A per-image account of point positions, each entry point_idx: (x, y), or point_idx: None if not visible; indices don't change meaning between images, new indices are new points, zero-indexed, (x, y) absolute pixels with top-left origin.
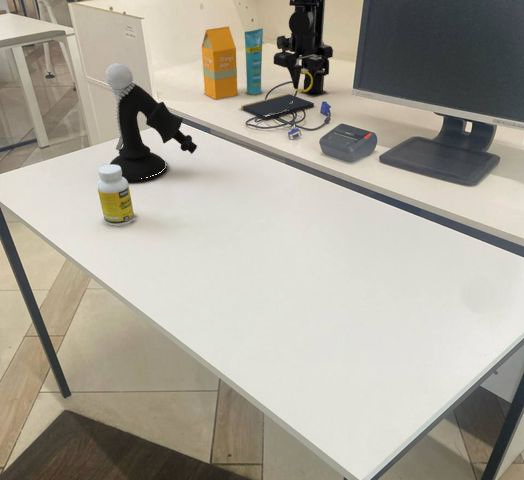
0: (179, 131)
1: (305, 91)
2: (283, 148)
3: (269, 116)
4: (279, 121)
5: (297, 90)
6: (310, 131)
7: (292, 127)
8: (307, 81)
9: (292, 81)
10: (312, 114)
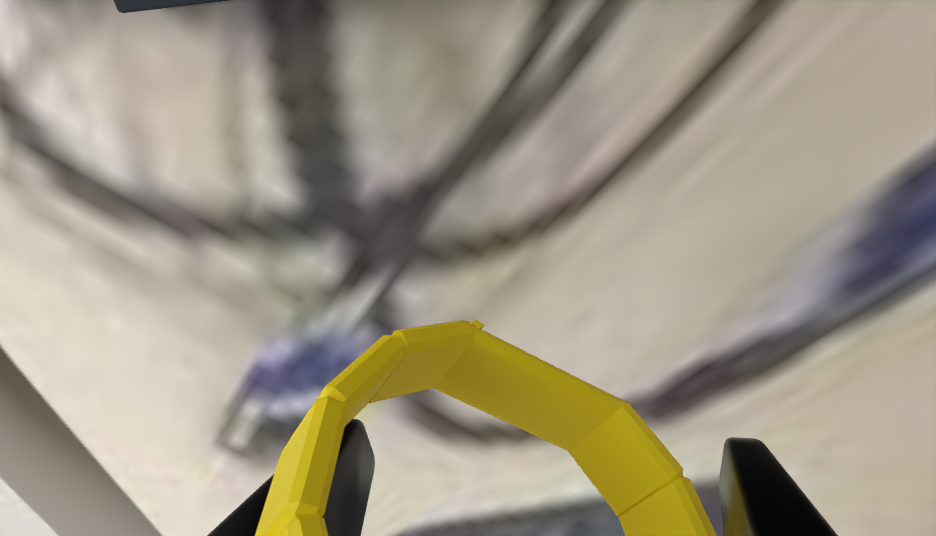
0: None
1: (560, 445)
2: (142, 490)
3: (174, 6)
4: (284, 123)
5: (428, 388)
6: (423, 435)
7: (334, 311)
8: (737, 501)
9: (230, 523)
10: (765, 161)
